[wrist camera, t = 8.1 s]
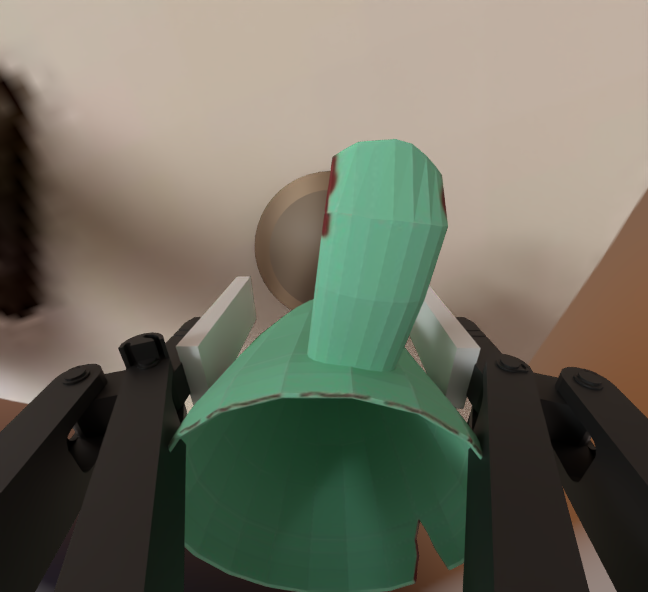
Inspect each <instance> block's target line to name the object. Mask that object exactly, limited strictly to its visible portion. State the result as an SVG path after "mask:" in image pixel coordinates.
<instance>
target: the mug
mask: <svg viewBox="0 0 648 592" xmlns="http://www.w3.org/2000/svg"><path fill="white" fill-rule="evenodd" d="M447 228H448V222H447V214H446V206H445V198H444V189H443V181H442V175H441V173H440V172H439V171H438V169H437V168H436V166H435V165H434V164H433V163H432V162H431V161H430V159H429V158H428V157H427V156H426V155H425V154H424V153H422V152H421V151H420V150H419V149H418V148H416V147H415V146H414V145H413V144H411V143H407V142H404V141H400V140H397V139H391V140H376V141H364V142H357V143H355V144H354V145H352V146H350V147H348V148H346V149H344V150H343V151H341V152H340V153H338V154H336V155H335V156H333V158H332V165H331V171H330V178H329V184H328V191H327V198H326V204H325V211H324V219H323V227H322V235H321V243H320V252H319V260H318V268H317V276H316V284H315V293H314V299H313V300H310V301H308V302H306V303H304V304H302V305H300V306H298V307H296V308H295V309H294V310H292V311H291V312H289V313H288V314H286V315H285V316H283V317H282V318H281V319H279V320H278V321H277V322H276V323H274V324H273V325H272V326H271V327H269V328H268V329H267V330H266V331H264V332H263V333H262V334H260V335H259V336H258V337H257V338H256V339H255V340H254V341H253V342H252V343H251V344H250V346H249V347H248V348H247V349H246V350H245V351H244V352H243V353H242V354H241V355H240V356H239V357H238V358H237V359H236V360H235V361H234V362H233V363H232V364H231V365H230V367H229V368H228V369H227V370H226V371H225V372H224V373H223V374H222V375H221V376H220V377H219V378H218V380H217V381H216V382H215V383H214V384H213V385H212V386H211V387H210V388H209V389H208V390H207V392H206V393H205V394H204V395H203V396H202V397H201V398H200V399H199V400H198V401H197V402H196V403H195V405H194V406H193V407H192V409H191V410H190V411H189V413H188V414H187V415H186V417H185V419H184V420H183V422H182V423H181V425H180V426H179V428H178V429H177V431H176V432H175V434H174V436H173V437H172V439H171V441H170V443H169V445H168V449H169V451H170V452H171V451H172V450H173V448H174V447H175V445H176V444H177V442H178V441H179V439H182V440H183V441H184V443H185V444H186V485H185V545H184V547H186V548H187V549H188V550H189V551H190V552H191V553H192V554H193V555H194V556H196V557H198V558H200V559H202V560H203V561H205V562H207V563H209V564H211V565H213V566H215V567H216V568H218V569H220V570H222V571H224V572H226V573H227V574H230V575H233V576H236V577H239V578H242V579H245V580H248V581H252V582H255V583H257V584H260V585H264V586H267V587H273V588H278V589H284V590H290V591H295V592H381V591H391V590H394V589H398V588H401V587H404V586H407V585H411V584H415V582H416V579H417V566H418V560H419V552H418V545H417V534H418V529H419V523H420V522H421V523H422V525H423V526H424V528H425V530H426V531H427V533H428V535H429V537H430V539H431V542H432V544H433V546H434V548H435V550H436V551H437V553H438V554H439V556H440V557H441V559H442V561H443V562H444V564H445V565H446V567H447V568H448V569H449V570H451V569H453V568H455V567H457V566H459V565H461V564H463V563H464V550H465V524H466V498H467V473H468V449H469V448H470V447H471V448H472V450H473V451H474V452H475V453H476V455H477V456H478V457H479V458H480V460H481V458H482V455H483V453H482V449H481V446H480V443H479V440H478V438H477V436H476V434H475V433H474V432H473V430H472V429H471V428H470V426H469V425H468V424H467V423H466V421H465V420H464V419H463V417H462V416H461V415H460V414H459V412H458V411H457V410H456V408H455V407H454V406H453V405H452V403H451V402H450V401H449V400H448V398H447V397H446V396H445V395H444V394H443V393H442V391H441V390H440V389H439V388H438V387H437V385H436V384H435V383H434V382H433V381H432V380H431V378H430V377H429V376H428V375H427V374H426V373H425V371H424V370H423V369H422V368H421V367H420V366H419V364H418V363H417V362H416V361H415V360H414V358H413V357H412V356H411V355H410V353H409V352H408V351H407V350H406V348H405V344H406V342H407V340H408V337H409V335H410V333H411V330H412V328H413V325H414V323H415V321H416V318H417V316H418V314H419V311H420V309H421V307H422V304H423V302H424V300H425V297H426V294H427V290H428V287H429V284H430V281H431V278H432V275H433V272H434V268H435V265H436V262H437V259H438V256H439V253H440V250H441V247H442V243H443V240H444V237H445V234H446V231H447Z"/></svg>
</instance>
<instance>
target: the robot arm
mask: <svg viewBox="0 0 648 592" xmlns="http://www.w3.org/2000/svg"><path fill="white" fill-rule="evenodd" d="M255 320H256V312H255V305H254V298H253V291H252V283H251V276H237V277H236V278H235V279H234V280H233V282H232V283H231V284H230V285H229V286H228V287H227V288H226V290H225V291H224V292H223V293H222V294H221V295H220V296H219V298H218V299H217V300H216V301H215V302H214V303H213V304H212V306H211V307H210V308H209V309H208V310H207V311H206V312H205V314H204V315H203V316H202V317H194V318H193V319H191V320H189V321H187V322H186V323H184V324H183V326H182V327H181V328H180V329H179V331H177V332H176V333H175V334H174V336H172V337H171V338H170V339H169V340H168V341H167V342H166V343H165V341H164V338H163V335H161V334H159V333H144V334H141V335H137V336H135V337H132V338H130V339H128V340H126V341H125V342H124V343H122V344H121V345H120V347H119V348H118V349H119V352H120V354H121V356H122V359H123V361H124V364H125V366H126V370H124V371H119V372H114V373H109V374H104V373H103V371H102V368H101V366H99V365H97V364H87V365H82V366H77V367H75V368H72V369H69V370H68V371H66V372H64V373H62V374H61V375H59V376H58V377H57V378H55V379H54V380H53V381H52V382H51V383H50V384H49V385H48V386H47V387H46V388H45V389H44V390H43V391H42V392H41V393H40V394H39V395H38V396H37V397H36V398H35V399H34V400H33V401H32V402H31V403H29V404H28V405H27V407H25V408H24V409H23V410H22V411H21V412H20V413H19V414H18V416H16V417H15V418H14V419H13V420H12V421H11V422H10V423H9V424H8V425H7V426H6V427H5V428H4V429H3V430H2V431H1V432H0V592H35V591H36V589H37V588H38V585H39V584H40V582H41V580H42V578H43V577H44V575H45V573H46V571H47V569H48V568H49V566H50V564H51V562H52V560H53V559H54V557H55V555H56V553H57V551H58V549H59V548H60V546H61V544H62V542H63V541H64V539H65V537H66V535H67V533H68V532H69V530H70V528H71V526H72V524H73V523H74V520H75V519H76V517H77V515H78V514H79V516H78V519H77V522H76V526H75V528H74V532H73V535H72V538H71V541H70V544H69V547H68V550H67V553H66V557H65V559H64V563H63V566H62V569H61V572H60V575H59V578H58V581H57V584H56V587H55V590H54V592H184V545H185V485H186V444H185V443H184V441H183V440H182V439H179V441H178V442H177V444H176V445H175V447H174V448H173V450H172V451H171V452H170V451H169V449H168V445H169V443H170V441H171V439H172V437H173V436H174V434H175V432H176V431H177V429H178V428H179V426H180V425H181V423H182V422H183V420H184V419H185V417H186V415H187V410H186V407H185V404H184V402H185V401H186V399H187V398H188V396H189V394H190V395H191V399H192V402H193V405H195V403H196V402H197V401H198V400H199V399H200V398H201V397H202V396H203V395H204V394H205V393H206V392H207V390H208V389H209V388H210V387H211V386H212V385H213V384H214V383H215V382H216V381H217V380H218V378H219V377H220V376H221V375H222V374H223V373H224V372H225V371H226V370H227V369H228V368H229V367H230V365H231V364H232V363H233V362H234V361H235V360H236V358H237V356H238V354H239V352H240V350H241V348H242V346H243V344H244V342H245V340H246V338H247V336H248V334H249V332H250V330H251V328H252V326H253V324H254V322H255ZM410 338H411V340H412V342H413V344H414V346H415V349H416V351H417V353H418V355H419V357H420V360H421V362H422V364H423V366H424V368H425V370H426V373H427V375H428V376H429V377H430V378H431V380H432V381H433V382H434V383H435V384H436V385H437V387H438V388H439V389H440V390H441V391H442V393H443V394H444V395H445V396H446V397H447V398H448V400H449V401H450V402H451V403H452V405H453V406H454V407H455V408H459V409H463V408H464V405H465V401H466V398H467V397H468V399H469V401H470V403H471V404H472V409H471V412H470V416H469V419H468V422H467V424H468V425H469V426H470V428H471V429H472V430H473V432H474V433H475V434H476V436H477V438H478V440H479V443H480V446H481V449H482V453H483V455H482V458H481V460H480V458H479V457H478V456H477V455H476V453H475V452H474V451H473V450H472V448H471V447H470V448H469V449H468V473H467V498H466V524H465V550H464V576H463V592H589V588H588V584H587V580H586V577H585V573H584V569H583V565H582V561H581V557H580V553H579V549H578V545H577V542H576V538H575V534H574V530H573V526H572V522H571V518H570V514H569V510H568V507H567V503H566V499H565V496H564V491H563V488H564V490H565V492H566V494H567V496H568V498H569V500H570V502H571V504H572V506H573V508H574V510H575V512H576V514H577V515H578V517H579V519H580V521H581V523H582V525H583V527H584V529H585V531H586V533H587V535H588V537H589V538H590V541H591V542H592V544H593V546H594V548H595V550H596V552H597V554H598V556H599V558H600V560H601V562H602V564H603V566H604V567H605V569H606V571H607V573H608V575H609V577H610V579H611V581H612V583H613V585H614V587H615V589H616V591H617V592H648V418H647V417H646V416H645V415H643V413H641V411H639V409H637V407H636V406H635V405H634V404H633V403H632V402H631V401H630V400H629V399H628V398H627V397H626V396H625V395H624V394H623V393H622V392H621V391H620V390H619V389H617V387H616V386H615V385H613V384H612V383H611V382H610V381H608V380H607V379H606V378H604V377H602V376H600V375H598V374H597V373H595V372H592V371H590V370H586V369H581V368H577V367H567V368H564V369H562V371H561V373H560V376H559V377H558V378H557V377H552V376H547V375H542V374H537V373H533V371H532V370H531V368H530V366H528V365H527V364H526V363H525V362H523V361H522V360H520V359H518V358H516V357H513V356H510V355H506V354H502V353H501V352H500V351H499V350H498V349H497V348H496V346H495V345H494V344H493V343H492V342H491V341H490V340H489V339H488V338H487V337H486V335H485V334H484V333H483V332H482V331H481V330H480V329H479V328H478V327H477V326H476V324H475V323H473V322H472V321H470V320H468V319H466V318H465V317H455V316H454V315H453V314H452V313H451V311H450V310H449V309H448V308H447V307H446V305H445V304H444V303H443V302H442V300H441V299H440V298H439V297H438V296H437V294H436V293H435V292H434V291H433V289H432V288H431V287H430V286H429V287H428V290H427V294H426V297H425V300H424V302H423V304H422V307H421V309H420V311H419V314H418V316H417V318H416V321H415V323H414V325H413V328H412V330H411V333H410ZM72 428H73V429H74V430H75V434H74V435H73V436H72V438H71V439H68V438H67V437H68V434H69V433H70V431H71V429H72ZM591 437H592V439H593V440H594V443H595V446H596V447H595V446H594V445H593V443H592V442H591V441H590V439H591ZM562 486H563V487H562ZM79 512H80V513H79Z"/></svg>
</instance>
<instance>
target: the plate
mask: <svg viewBox="0 0 648 592" xmlns="http://www.w3.org/2000/svg"><path fill="white" fill-rule="evenodd" d="M329 178H330V171H325V172H318V173H313V174H309V175H306V176H304V177H301V178H299V179H297V180H295V181H293V182H291V183H290V184H288V185H287V186H285V187H284V188H283V189H281V190H280V191H279V192H278V193H277V194H276V195H275V196H274V197H273V198H272V199H271V201H270V202H269V204H268V205H267V206H266V208H265V210H264V212H263V214H262V215H261V218H260V221H259V223H258V226H257V231H256V235H255V257H256V262H257V266H258V269H259V272H260V275H261V277H262V279H263V281H264V283H265V284H266V286H267V287H268V289H269V290H270V291H271V293H272V294H273V295H274V296H275V297H276V298H277V299H278V300H279V301H280V302H281V303H282V304H284V305H285V306H286V307H288V308H289V309H291V310H294V309H295V308H296V307H298V306H300V305H302V304H304V303H306V302H308V301H310V300H313V299H314V293H315V284H316V276H317V268H318V260H319V252H320V243H321V235H322V227H323V219H324V211H325V204H326V198H327V191H328V184H329Z"/></svg>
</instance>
